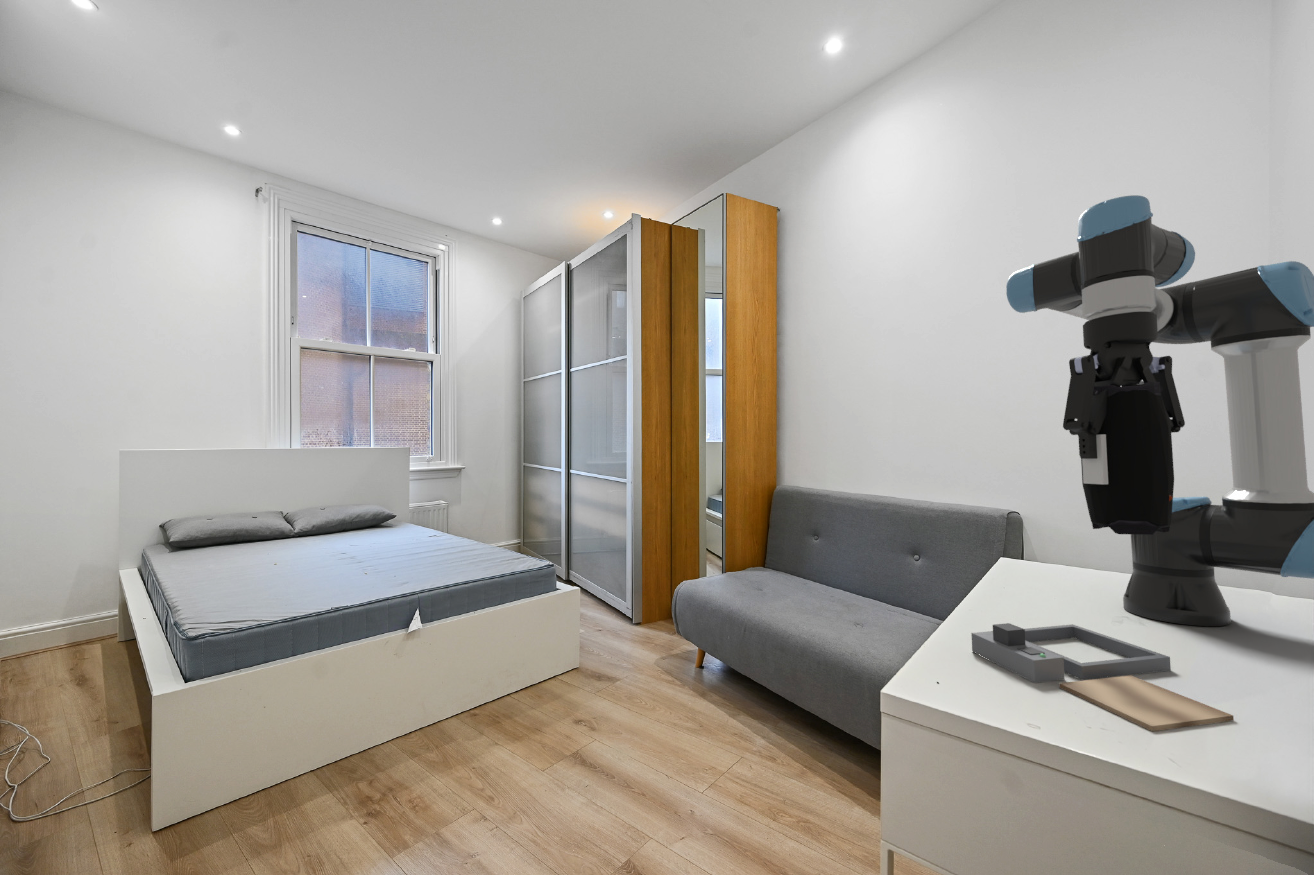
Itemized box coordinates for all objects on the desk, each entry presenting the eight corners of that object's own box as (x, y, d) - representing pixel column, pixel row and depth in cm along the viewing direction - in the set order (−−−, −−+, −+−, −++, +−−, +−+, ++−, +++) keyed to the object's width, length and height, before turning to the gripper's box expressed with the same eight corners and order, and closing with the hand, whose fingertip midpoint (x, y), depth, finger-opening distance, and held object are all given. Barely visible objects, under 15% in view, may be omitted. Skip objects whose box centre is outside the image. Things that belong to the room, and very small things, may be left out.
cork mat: (1130, 679, 76) (1130, 675, 76) (1233, 720, 64) (1233, 715, 64) (1059, 687, 74) (1059, 683, 74) (1152, 731, 62) (1151, 726, 62)
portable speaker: (1196, 534, 66) (1186, 380, 67) (1127, 537, 65) (1118, 381, 66) (1130, 525, 75) (1122, 388, 75) (1068, 528, 74) (1061, 390, 74)
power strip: (998, 649, 88) (997, 616, 89) (1064, 679, 77) (1062, 640, 77) (972, 652, 88) (970, 618, 88) (1034, 682, 76) (1032, 643, 76)
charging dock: (1073, 635, 94) (1072, 624, 94) (1170, 670, 79) (1169, 657, 79) (981, 644, 91) (981, 632, 91) (1064, 682, 76) (1063, 668, 76)
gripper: (1155, 324, 76) (1163, 479, 76) (1023, 322, 73) (1031, 483, 72) (1217, 310, 69) (1228, 481, 68) (1075, 306, 65) (1084, 487, 65)
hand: (1127, 482), depth 70 cm, fingers closed on portable speaker, 9 cm apart
